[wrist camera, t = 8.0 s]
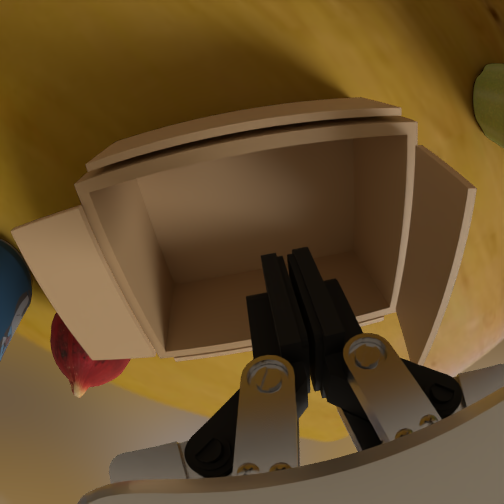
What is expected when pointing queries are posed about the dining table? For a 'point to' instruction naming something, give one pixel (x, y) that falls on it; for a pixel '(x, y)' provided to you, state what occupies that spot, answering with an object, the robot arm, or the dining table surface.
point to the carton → (252, 214)
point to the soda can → (12, 292)
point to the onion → (80, 360)
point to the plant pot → (490, 102)
